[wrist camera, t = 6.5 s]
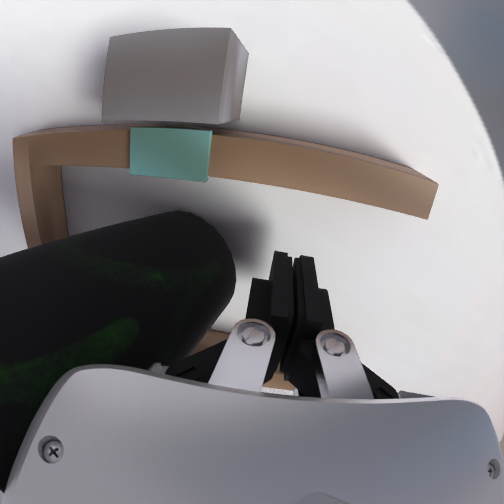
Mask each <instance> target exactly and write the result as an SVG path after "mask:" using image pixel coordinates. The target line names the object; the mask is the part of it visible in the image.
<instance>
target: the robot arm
mask: <svg viewBox="0 0 504 504" xmlns="http://www.w3.org/2000/svg"><path fill="white" fill-rule="evenodd" d="M279 362H280V367H279V372H281V373H284V381H289V382H290V383H291V384H292V385H293V386H294V389H293V394H294V396H291V395H281V394H272V393H264V392H260V391H261V388H262V385H263V384H265V383H266V382H268V381H270V380H271V379H272V378H273V375H274V372H276V371H277V368H278V365H279ZM57 447H58V449H57ZM49 448H50V449H51V450H52V451H53V452H54V453H53V452H52V451H51V450H50V449H49ZM49 455H51V456H49ZM2 504H504V460H503V456H502V452H501V448H500V444H499V441H498V437H497V434H496V432H495V429H494V426H493V424H492V421H491V419H490V417H489V415H488V413H487V412H486V410H485V409H484V408H483V407H482V406H480V405H479V404H477V403H475V402H472V401H469V400H466V399H461V398H455V397H434V396H428V395H422V394H416V393H411V392H406V391H401V390H400V392H399V393H397V392H396V390H395V389H394V388H393V387H392V386H391V385H389V384H388V383H387V382H385V381H384V380H383V379H381V378H380V377H379V376H378V375H376V374H375V373H374V372H372V371H371V370H370V369H369V368H367V367H366V366H365V365H363V364H362V363H361V361H360V358H359V356H358V353H357V351H356V348H355V345H354V343H353V341H352V340H351V338H350V337H349V336H348V335H346V334H344V333H343V332H340V331H338V330H335V329H334V323H333V317H332V312H331V306H330V301H329V295H328V291H327V290H326V289H321V288H318V282H317V276H316V270H315V264H314V258H313V257H309V256H303V255H300V257H299V258H295V259H294V263H293V267H292V257H288V253H285V252H279V251H275V252H274V256H273V261H272V266H271V271H270V276H269V280H264V279H258V278H252V283H251V289H250V295H249V301H248V307H247V313H246V319H244V320H241V321H239V322H238V323H236V324H235V326H234V327H233V329H232V331H231V334H230V336H229V338H228V339H226V340H224V341H222V342H219V343H217V344H215V345H213V346H211V347H208V348H206V349H204V350H202V351H200V352H197V353H195V354H193V355H190V356H188V357H186V358H184V359H181V360H179V361H177V362H175V363H173V364H171V365H170V366H161V363H154V362H153V363H152V364H151V366H150V367H149V368H148V370H144V369H139V368H134V367H128V366H122V365H111V364H92V365H84V366H79V367H76V368H73V369H71V370H69V371H68V372H66V373H65V374H64V375H63V376H62V377H61V378H60V379H59V380H58V381H57V382H56V383H55V385H54V386H53V387H52V389H51V390H50V392H49V393H48V395H47V396H46V398H45V399H44V401H43V402H42V404H41V406H40V408H39V410H38V411H37V413H36V415H35V417H34V419H33V420H32V422H31V424H30V427H29V429H28V431H27V433H26V435H25V438H24V440H23V442H22V445H21V447H20V449H19V452H18V454H17V457H16V459H15V462H14V464H13V467H12V470H11V473H10V476H9V479H8V482H7V486H6V489H5V493H4V496H3V501H2Z"/></svg>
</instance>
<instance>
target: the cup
mask: <svg viewBox="0 0 504 504" xmlns="http://www.w3.org/2000/svg"><path fill="white" fill-rule="evenodd" d="M235 284H236V272H235V265H234V262H233V258H232V255H231V252H230V250H229V248H228V247H227V245H226V243H225V241H224V239H223V238H222V237H221V236H220V234H219V233H218V232H217V231H216V230H215V228H214V227H213V226H211V225H210V224H209V223H208V222H206V221H205V220H204V219H203V218H201V217H199V216H196V215H194V214H192V213H189V212H183V211H173V212H166V213H162V214H157V215H153V216H148V217H144V218H140V219H135V220H131V221H127V222H123V223H119V224H115V225H111V226H107V227H103V228H99V229H95V230H91V231H88V232H84V233H80V234H76V235H73V236H69V237H66V238H62V239H59V240H55V241H52V242H48V243H45V244H41V245H38V246H35V247H32V248H28V249H25V250H22V251H19V252H16V253H13V254H10V255H7V256H3V257H0V490H1V491H2V492H3V493H5V489H6V486H7V482H8V479H9V476H10V473H11V470H12V467H13V464H14V462H15V459H16V457H17V454H18V452H19V449H20V447H21V445H22V442H23V440H24V438H25V435H26V433H27V431H28V429H29V427H30V424H31V422H32V420H33V419H34V417H35V415H36V413H37V411H38V410H39V408H40V406H41V404H42V402H43V401H44V399H45V398H46V396H47V395H48V393H49V392H50V390H51V389H52V387H53V386H54V385H55V383H56V382H57V381H58V380H59V379H60V378H61V377H62V376H63V375H64V374H65V373H66V372H68V371H69V370H71V369H73V368H76V367H79V366H84V365H92V364H111V365H122V366H128V367H134V368H139V369H144V370H148V368H149V367H150V366H151V364H152V363H153V362H154V363H161V366H170V365H171V364H173V363H175V362H177V361H179V360H181V359H184V358H186V357H188V356H190V354H191V353H192V352H193V350H194V349H195V348H196V346H197V345H198V344H199V342H200V341H201V340H202V338H203V337H204V336H205V334H206V333H207V332H208V330H209V329H210V328H211V326H212V325H213V324H214V322H215V321H216V320H217V318H218V317H219V316H220V314H221V313H222V312H223V310H224V309H225V308H226V306H227V305H228V304H229V302H230V300H231V298H232V296H233V294H234V290H235ZM49 449H50V448H49ZM57 449H58V447H57ZM50 450H51V449H50ZM51 451H52V450H51ZM52 452H53V451H52ZM53 453H54V452H53ZM49 456H51V455H49Z"/></svg>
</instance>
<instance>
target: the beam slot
mask: <svg viewBox="0 0 504 504" xmlns="http://www.w3.org/2000/svg"><path fill="white" fill-rule="evenodd" d="M248 54H249V53H248V52H247V50H246V49H245V47H244V46H243V44H242V43H241V42H240V40H239V39H238V37H237V36H236V34H235V33H234V32H233V30H232V29H231V28H180V29H166V30H155V31H146V32H139V33H132V34H125V35H119V36H114V37H110V41H109V47H108V54H107V61H106V69H105V78H104V89H103V103H102V121H175V122H193V123H207V124H222V123H226V122H230V121H234V120H239V118H240V111H241V103H242V96H243V89H244V81H245V74H246V67H247V61H248ZM13 157H14V169H15V179H16V187H17V194H18V201H19V207H20V213H21V218H22V223H23V228H24V233H25V237H26V241H27V246H28V248H32V247H35V246H38V245H41V244H45V243H48V242H52V241H55V240H59V239H62V238H66V237H69V235H68V229H67V222H66V215H65V208H64V200H63V190H62V179H61V165H69V166H97V167H116V168H130V174H131V175H143V176H154V177H164V178H173V179H182V180H191V181H199V182H206V181H207V180H208V176H211V177H219V178H226V179H234V180H241V181H247V182H254V183H260V184H266V185H272V186H278V187H284V188H290V189H295V190H301V191H306V192H311V193H317V194H322V195H327V196H331V197H336V198H341V199H346V200H350V201H355V202H359V203H364V204H368V205H372V206H376V207H381V208H385V209H389V210H393V211H397V212H401V213H404V214H408V215H412V216H416V217H419V218H423V219H428V217H429V214H430V211H431V208H432V204H433V201H434V198H435V195H436V192H437V188H438V185H439V184H438V183H436V182H434V181H433V180H431V179H429V178H428V177H426V176H424V175H423V174H421V173H419V172H418V171H416V170H414V169H412V168H409V167H405V166H402V165H399V164H396V163H392V162H389V161H386V160H382V159H379V158H375V157H371V156H368V155H364V154H360V153H356V152H352V151H348V150H344V149H340V148H335V147H331V146H326V145H322V144H317V143H312V142H307V141H302V140H296V139H291V138H285V137H279V136H273V135H266V134H259V133H252V132H244V131H236V130H227V129H217V128H206V127H193V126H177V125H149V124H116V125H89V126H74V127H62V128H51V129H43V130H39V131H35V132H32V133H28V134H25V135H21V136H18V137H15V138H13ZM229 336H230V334H229V333H224V332H218V331H213V330H208V332H207V333H206V334H205V336H204V337H203V338H202V340H201V341H200V342H199V344H198V345H197V346H196V348H195V349H194V350H193V352H192V353H191V354H190V355H193V354H195V353H197V352H200V351H202V350H204V349H206V348H208V347H211V346H213V345H215V344H217V343H219V342H222V341H224V340H226V339H228V338H229ZM279 367H280V362H279V365H278V368H277V371H276V372H274V375H273V378H272V379H271V380H270V381H268V382H266V383H265V384H263V385H262V387H269V388H276V389H284V390H293V389H294V386H293V385H292V384H291V383H290V382H289V381H284V373H281V372H279Z"/></svg>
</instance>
